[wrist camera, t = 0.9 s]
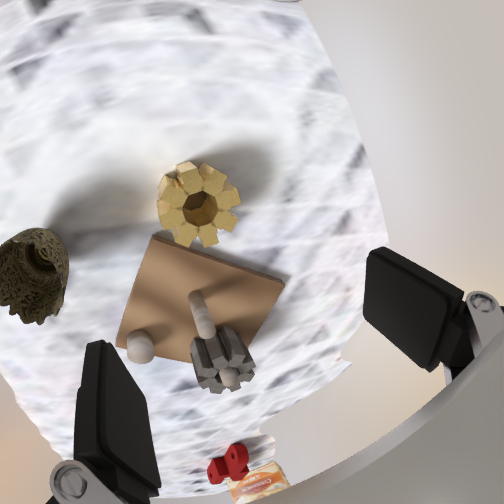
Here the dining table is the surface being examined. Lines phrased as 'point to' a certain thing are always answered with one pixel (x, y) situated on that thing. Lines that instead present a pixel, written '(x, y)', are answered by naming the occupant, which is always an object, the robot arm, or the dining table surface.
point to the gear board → (174, 308)
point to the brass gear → (201, 218)
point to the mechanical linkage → (229, 465)
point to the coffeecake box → (258, 484)
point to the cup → (33, 274)
